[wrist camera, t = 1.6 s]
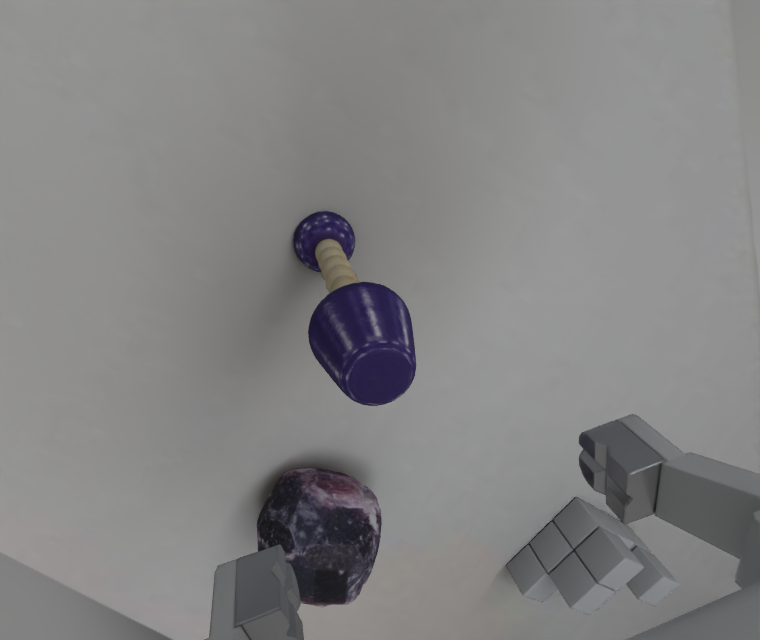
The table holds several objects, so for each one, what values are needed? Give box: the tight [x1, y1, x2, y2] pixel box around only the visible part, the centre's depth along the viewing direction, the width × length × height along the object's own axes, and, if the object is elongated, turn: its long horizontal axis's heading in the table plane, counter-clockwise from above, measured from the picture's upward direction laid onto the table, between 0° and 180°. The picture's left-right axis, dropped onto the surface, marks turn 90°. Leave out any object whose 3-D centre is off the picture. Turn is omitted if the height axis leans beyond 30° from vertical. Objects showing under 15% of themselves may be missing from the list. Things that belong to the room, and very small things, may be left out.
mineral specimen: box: [257, 468, 381, 607], centre depth 37 cm, size 10×10×10 cm
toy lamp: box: [293, 211, 416, 406], centre depth 24 cm, size 5×5×17 cm
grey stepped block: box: [507, 498, 679, 615], centre depth 52 cm, size 12×12×8 cm
